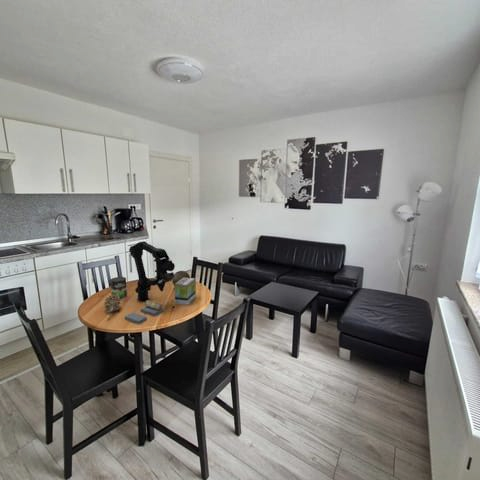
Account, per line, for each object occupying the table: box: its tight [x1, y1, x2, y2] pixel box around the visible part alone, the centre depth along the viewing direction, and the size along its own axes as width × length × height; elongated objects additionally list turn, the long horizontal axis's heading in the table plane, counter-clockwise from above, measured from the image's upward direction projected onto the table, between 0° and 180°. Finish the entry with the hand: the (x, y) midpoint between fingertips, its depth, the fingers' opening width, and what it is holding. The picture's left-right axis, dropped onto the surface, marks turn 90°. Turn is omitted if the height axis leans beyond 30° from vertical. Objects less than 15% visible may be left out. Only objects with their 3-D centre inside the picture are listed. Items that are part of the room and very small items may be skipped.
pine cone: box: [104, 294, 122, 314], centre depth 160 cm, size 22×10×10 cm, turn 21°
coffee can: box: [109, 276, 128, 301], centre depth 183 cm, size 10×10×14 cm
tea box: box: [174, 277, 197, 306], centre depth 179 cm, size 15×10×15 cm
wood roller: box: [144, 299, 163, 310], centre depth 163 cm, size 4×11×4 cm, turn 61°
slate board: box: [124, 306, 165, 325], centre depth 158 cm, size 20×12×2 cm, turn 151°
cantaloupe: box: [171, 270, 191, 287], centre depth 200 cm, size 14×14×15 cm
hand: (161, 291), depth 169 cm, fingers closed
